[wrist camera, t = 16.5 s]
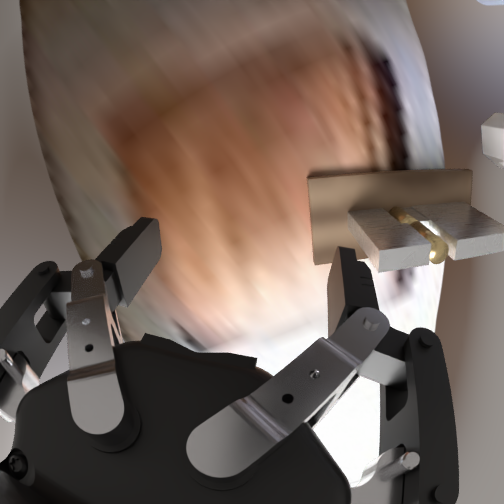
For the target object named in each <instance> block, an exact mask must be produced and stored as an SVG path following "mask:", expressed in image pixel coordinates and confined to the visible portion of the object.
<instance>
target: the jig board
mask: <svg viewBox="0 0 504 504" xmlns="http://www.w3.org/2000/svg"><path fill="white" fill-rule="evenodd" d="M307 185H308V196H309V207H310V218H311V231H312V245H313V261H314V264H315V265H320V264H328V263H333V259H334V255H335V252H336V248H337V246H341V247H347V248H353V249H355V252H356V257H357V260H359V259H366V258H368V257H367V255H366V254H365V252H364V251H363V249H362V248H361V246H360V245H359V244H358V242H357V241H356V239H355V238H354V237H353V235H352V234H351V232H350V231H349V230H348V214H347V212H350V211H360V210H370V209H380V208H383V209H384V210H385V211H387V212H389V210H390V209H391V208H393V207H396V206H397V207H400V208H408V207H411V206H415V205H427V204H440V203H453V202H465V203H467V204H469V205H471V191H472V170H469V169H429V170H402V171H382V172H367V173H353V174H340V175H329V176H318V177H309V178H307Z"/></svg>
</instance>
